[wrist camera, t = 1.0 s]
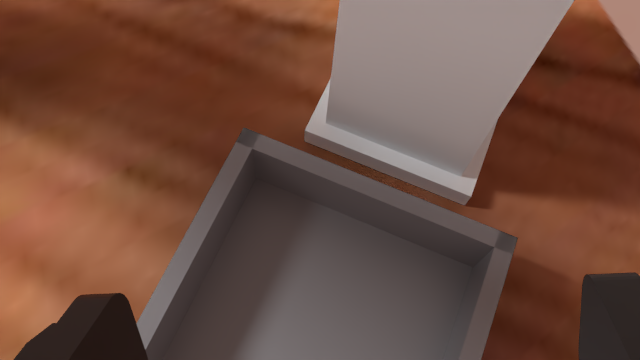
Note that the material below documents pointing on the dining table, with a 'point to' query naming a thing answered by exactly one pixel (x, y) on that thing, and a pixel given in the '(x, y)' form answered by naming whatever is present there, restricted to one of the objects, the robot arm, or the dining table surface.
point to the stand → (427, 84)
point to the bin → (323, 269)
